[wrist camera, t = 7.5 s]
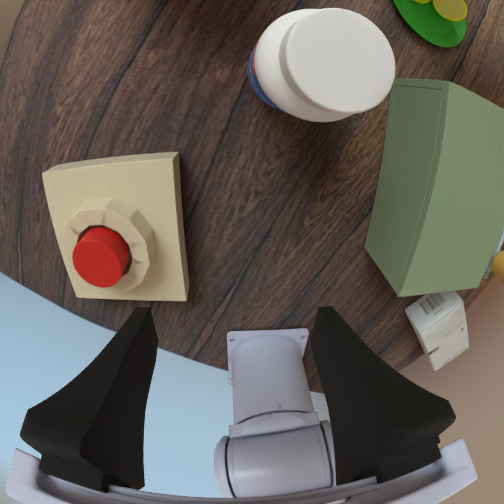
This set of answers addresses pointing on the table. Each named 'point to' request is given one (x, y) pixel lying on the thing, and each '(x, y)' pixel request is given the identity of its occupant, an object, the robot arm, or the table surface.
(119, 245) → the button
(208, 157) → the table surface
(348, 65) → the pill bottle
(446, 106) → the cabinet
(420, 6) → the plate with lemons
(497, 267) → the glass door
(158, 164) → the control box
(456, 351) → the cosmetic box
